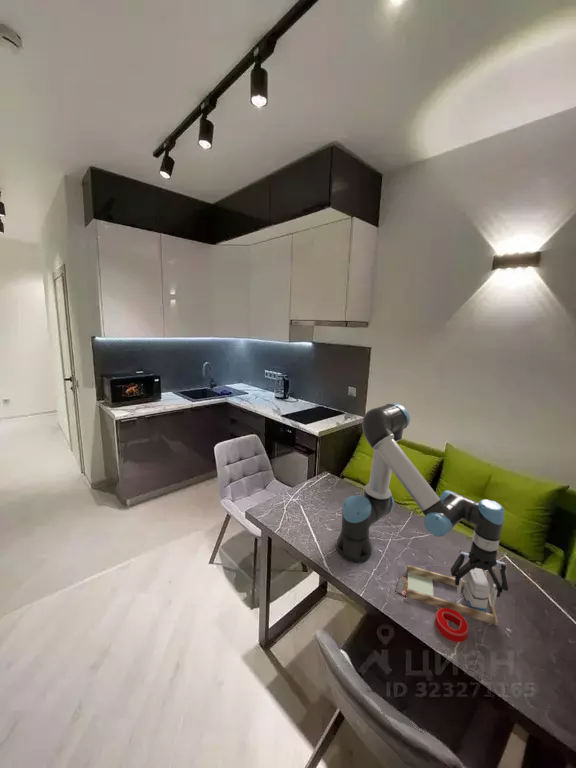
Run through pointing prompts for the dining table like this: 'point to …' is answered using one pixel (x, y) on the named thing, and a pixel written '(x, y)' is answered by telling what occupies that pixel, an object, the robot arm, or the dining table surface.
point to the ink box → (476, 589)
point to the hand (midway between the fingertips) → (475, 597)
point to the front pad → (420, 584)
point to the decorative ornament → (456, 618)
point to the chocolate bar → (402, 586)
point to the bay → (444, 603)
